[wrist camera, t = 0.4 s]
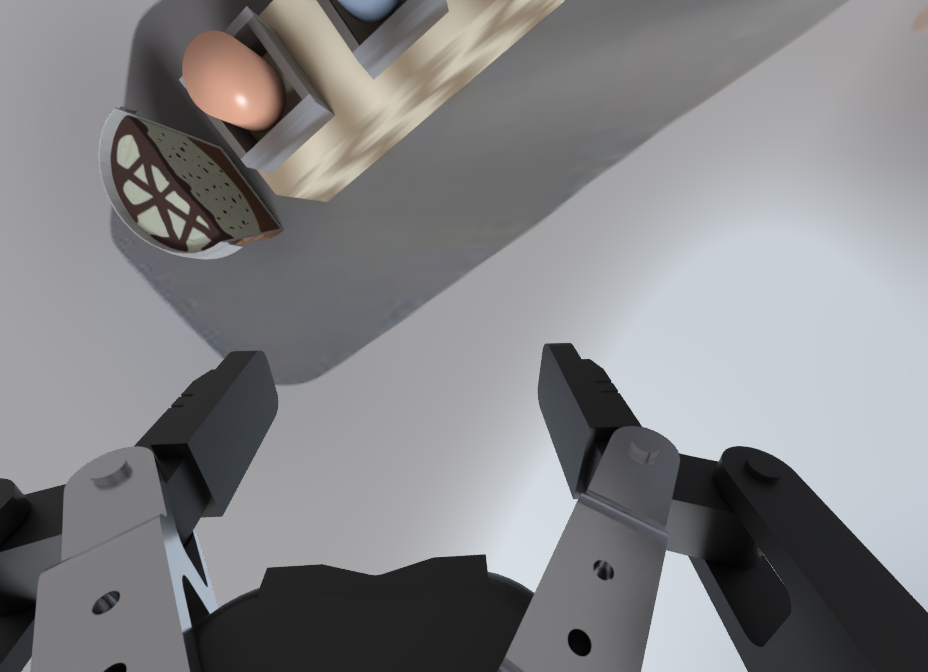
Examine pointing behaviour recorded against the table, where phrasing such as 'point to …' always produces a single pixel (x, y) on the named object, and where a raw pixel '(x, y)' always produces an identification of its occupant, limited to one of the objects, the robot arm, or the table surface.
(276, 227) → the food container
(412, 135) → the table surface
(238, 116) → the peach rounded knob
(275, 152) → the button console
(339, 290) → the table surface
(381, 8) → the slate button
